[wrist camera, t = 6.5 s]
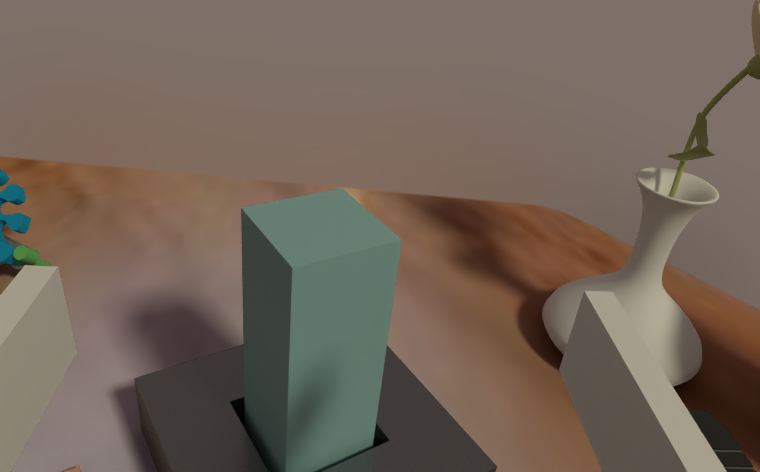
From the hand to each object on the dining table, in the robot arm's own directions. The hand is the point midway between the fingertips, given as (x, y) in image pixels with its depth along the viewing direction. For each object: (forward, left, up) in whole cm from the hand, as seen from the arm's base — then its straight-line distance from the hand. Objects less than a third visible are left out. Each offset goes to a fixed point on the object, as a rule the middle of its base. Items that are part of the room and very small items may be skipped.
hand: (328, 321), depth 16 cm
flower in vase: (-8, +31, -19) cm, 37 cm away
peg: (-9, +5, -19) cm, 22 cm away
